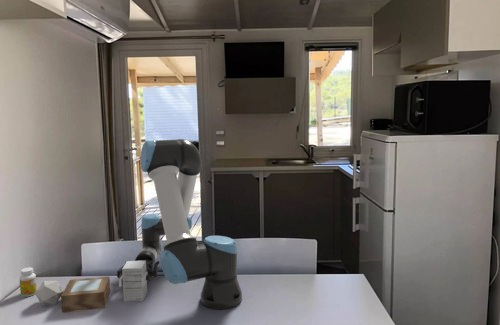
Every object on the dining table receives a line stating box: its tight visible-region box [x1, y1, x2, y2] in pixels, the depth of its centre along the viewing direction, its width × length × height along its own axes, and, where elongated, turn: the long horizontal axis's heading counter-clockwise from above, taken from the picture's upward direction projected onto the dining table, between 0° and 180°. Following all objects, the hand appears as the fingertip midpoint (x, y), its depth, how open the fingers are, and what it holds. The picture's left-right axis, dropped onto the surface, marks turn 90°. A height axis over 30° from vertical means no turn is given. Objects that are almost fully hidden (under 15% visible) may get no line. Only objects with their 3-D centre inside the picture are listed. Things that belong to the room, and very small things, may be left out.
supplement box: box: [122, 260, 148, 302], centre depth 144 cm, size 7×7×13 cm
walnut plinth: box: [60, 276, 111, 313], centre depth 141 cm, size 14×13×6 cm
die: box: [34, 280, 65, 305], centre depth 140 cm, size 8×9×10 cm
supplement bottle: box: [19, 266, 38, 298], centre depth 147 cm, size 5×5×10 cm
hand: (131, 283), depth 139 cm, fingers closed on supplement box, 7 cm apart
